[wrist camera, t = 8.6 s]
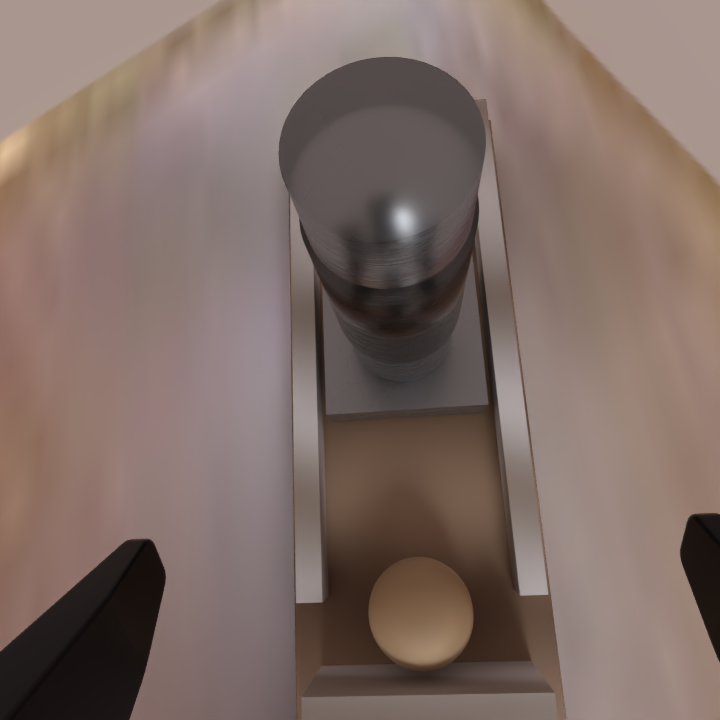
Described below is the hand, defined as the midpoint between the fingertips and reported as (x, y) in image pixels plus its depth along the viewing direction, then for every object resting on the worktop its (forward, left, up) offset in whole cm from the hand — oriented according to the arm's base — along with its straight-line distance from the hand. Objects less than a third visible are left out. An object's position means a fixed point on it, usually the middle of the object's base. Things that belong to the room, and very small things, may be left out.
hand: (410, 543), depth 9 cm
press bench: (+3, -1, -10) cm, 11 cm away
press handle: (+6, -2, -9) cm, 11 cm away
